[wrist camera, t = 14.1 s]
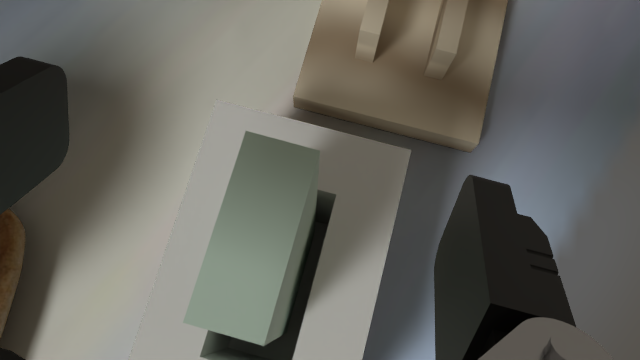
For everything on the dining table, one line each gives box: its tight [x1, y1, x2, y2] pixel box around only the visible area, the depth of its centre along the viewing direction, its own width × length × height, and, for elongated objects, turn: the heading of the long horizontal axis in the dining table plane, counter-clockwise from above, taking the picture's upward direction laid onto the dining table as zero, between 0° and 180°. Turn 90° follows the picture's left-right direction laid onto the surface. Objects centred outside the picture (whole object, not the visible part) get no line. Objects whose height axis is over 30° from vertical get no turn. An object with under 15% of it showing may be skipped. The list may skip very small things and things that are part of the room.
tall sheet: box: [183, 131, 320, 346], centre depth 20 cm, size 5×2×14 cm, turn 165°
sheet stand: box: [128, 99, 412, 360], centre depth 24 cm, size 12×8×8 cm, turn 165°
